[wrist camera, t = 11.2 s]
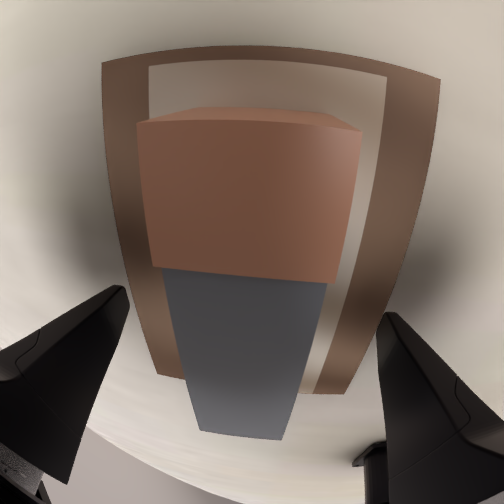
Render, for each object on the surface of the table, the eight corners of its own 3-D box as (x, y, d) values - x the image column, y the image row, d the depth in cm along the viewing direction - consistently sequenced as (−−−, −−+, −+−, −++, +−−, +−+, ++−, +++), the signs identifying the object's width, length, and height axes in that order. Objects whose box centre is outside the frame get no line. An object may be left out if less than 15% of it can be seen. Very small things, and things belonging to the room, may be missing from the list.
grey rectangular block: (287, 377, 14) (283, 444, 10) (212, 369, 14) (196, 433, 11) (329, 114, 7) (362, 132, 4) (197, 107, 8) (136, 123, 4)
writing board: (343, 388, 15) (344, 398, 14) (159, 368, 16) (155, 377, 15) (434, 79, 7) (445, 79, 6) (107, 62, 7) (96, 62, 7)
